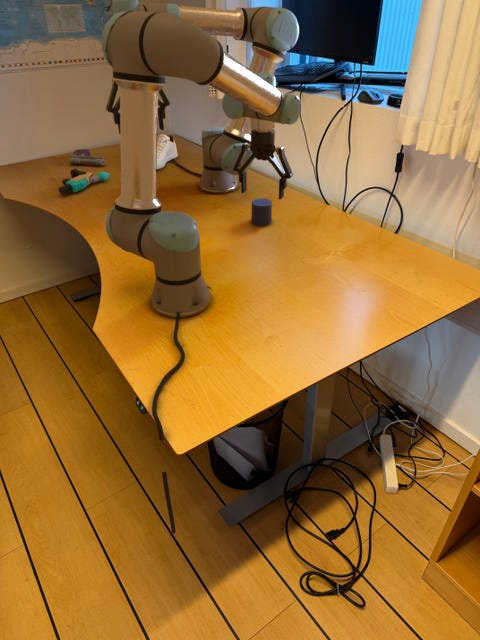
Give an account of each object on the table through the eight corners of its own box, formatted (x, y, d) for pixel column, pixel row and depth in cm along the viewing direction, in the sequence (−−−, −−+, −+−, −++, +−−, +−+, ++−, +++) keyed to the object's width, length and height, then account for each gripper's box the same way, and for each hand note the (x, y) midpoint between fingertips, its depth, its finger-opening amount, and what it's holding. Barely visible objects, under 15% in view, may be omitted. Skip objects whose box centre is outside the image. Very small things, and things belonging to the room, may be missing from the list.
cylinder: (264, 216, 170) (264, 196, 165) (275, 223, 165) (276, 203, 161) (247, 220, 167) (247, 201, 163) (258, 227, 162) (258, 207, 158)
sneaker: (133, 173, 208) (129, 144, 201) (161, 153, 230) (158, 127, 223) (155, 175, 205) (151, 146, 198) (180, 155, 227) (178, 129, 220)
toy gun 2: (37, 182, 187) (65, 188, 181) (83, 164, 205) (110, 169, 200) (39, 193, 189) (67, 200, 184) (85, 174, 208) (111, 179, 202)
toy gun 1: (116, 157, 226) (102, 168, 214) (79, 155, 229) (64, 165, 217) (114, 149, 224) (100, 159, 212) (78, 147, 227) (62, 157, 215)
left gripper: (305, 130, 146) (301, 196, 159) (231, 122, 155) (233, 185, 167) (296, 136, 141) (293, 204, 153) (221, 128, 149) (224, 193, 162)
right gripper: (93, 63, 136) (106, 139, 149) (175, 57, 145) (181, 129, 157) (88, 60, 142) (101, 133, 154) (167, 54, 150) (174, 124, 163)
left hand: (262, 194), depth 160 cm, fingers open, 13 cm apart
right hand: (141, 131), depth 156 cm, fingers open, 13 cm apart
